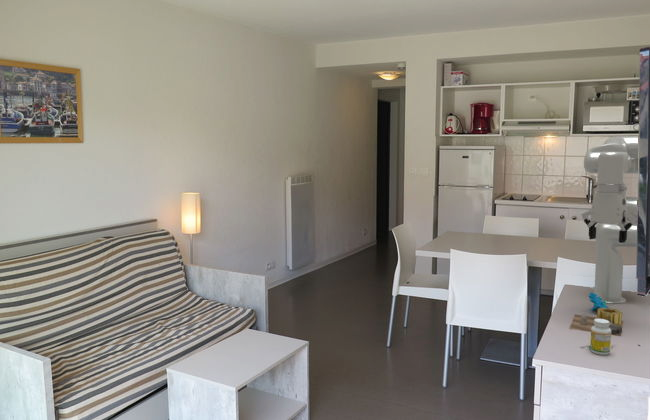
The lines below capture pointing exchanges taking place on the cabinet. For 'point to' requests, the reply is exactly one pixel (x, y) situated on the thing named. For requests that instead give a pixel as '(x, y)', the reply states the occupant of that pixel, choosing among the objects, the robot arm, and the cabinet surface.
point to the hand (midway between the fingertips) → (607, 240)
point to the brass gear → (610, 315)
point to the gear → (597, 302)
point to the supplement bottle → (600, 337)
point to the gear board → (592, 324)
